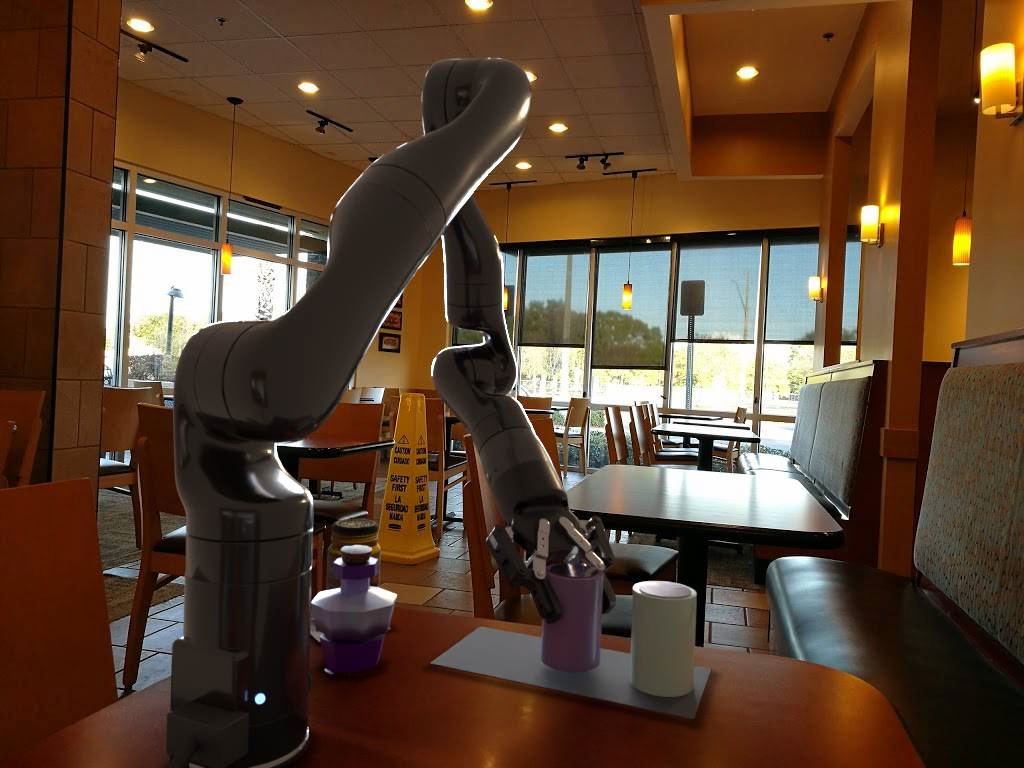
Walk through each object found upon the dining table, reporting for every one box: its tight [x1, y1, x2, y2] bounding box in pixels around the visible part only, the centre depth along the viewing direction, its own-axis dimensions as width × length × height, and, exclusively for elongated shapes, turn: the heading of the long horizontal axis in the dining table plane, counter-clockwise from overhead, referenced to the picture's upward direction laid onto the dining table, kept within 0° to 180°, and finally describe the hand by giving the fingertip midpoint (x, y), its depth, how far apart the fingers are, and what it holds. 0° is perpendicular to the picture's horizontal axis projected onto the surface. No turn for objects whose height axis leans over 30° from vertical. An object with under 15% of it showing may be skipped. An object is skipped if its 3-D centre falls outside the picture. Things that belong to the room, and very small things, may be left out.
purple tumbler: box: [540, 562, 604, 672], centre depth 73 cm, size 6×6×9 cm
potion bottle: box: [311, 545, 398, 676], centre depth 73 cm, size 9×9×12 cm
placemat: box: [429, 625, 713, 720], centre depth 73 cm, size 12×26×1 cm, turn 67°
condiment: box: [310, 518, 392, 643], centre depth 84 cm, size 7×8×12 cm
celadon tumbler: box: [629, 580, 698, 697], centre depth 70 cm, size 6×6×9 cm
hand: (582, 614), depth 72 cm, fingers closed on purple tumbler, 6 cm apart
